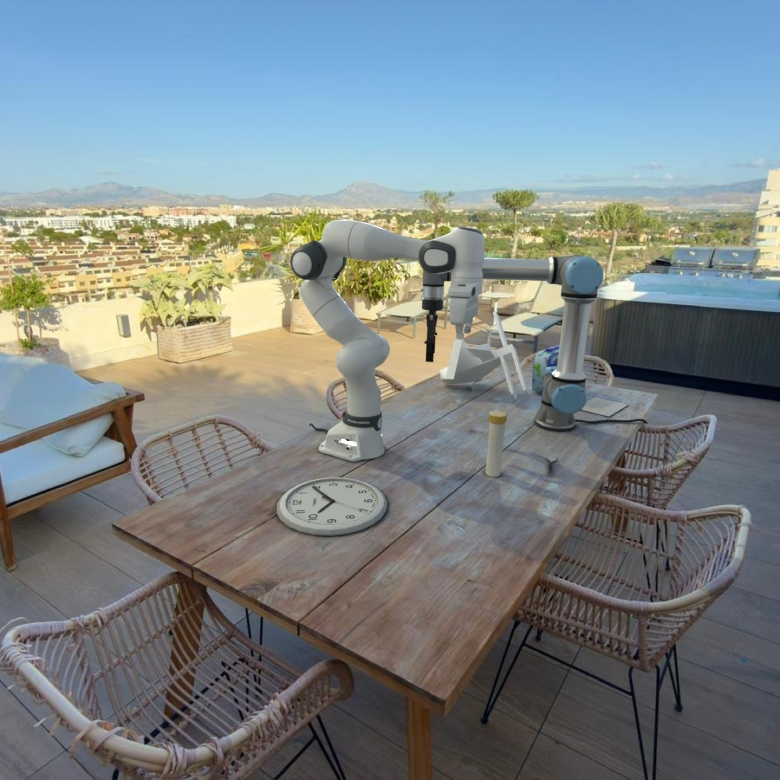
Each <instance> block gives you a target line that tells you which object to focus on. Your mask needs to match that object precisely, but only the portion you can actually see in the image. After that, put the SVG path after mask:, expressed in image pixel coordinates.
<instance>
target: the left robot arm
mask: <svg viewBox="0 0 780 780" xmlns="http://www.w3.org/2000/svg"><path fill="white" fill-rule="evenodd" d="M484 258H485V237H484V234H483V232H482V231H481V230H479V229H476V228H474V227H467V226H457V227H455V228H454V229H453V230H452V231H450V232H449V233H446V234H444V235H442V236H439V237H436V238H434V239H433V238H432V239H430V240H429V239H423V238H416V237H411V236H407V235H406V236H405V235H402V234H399V233H396V232H393V231H390V230H388V229H386V228H382V227H380V226H378V225H376V224H375V225H374V224H371V223H368V222H364V221H358V220H352V219H351V220H350V219H336V220H335V219H334V220H331V221H329V222H327V224H325V226H324V228H323V231H322V236H321V239H320V240H315V239H314V240H311V241H309V242H307V243H304V244H301V245H300V246H299V247H297V248H296V249H294V250H293V252H292V253H291V255H290V259H289V263H290V268H291V271H292V272H293V274H294V275H295V276H296V277H297V278H299V279H301V280H304V281H303V282H302V283H301V285H300V286H299V296H300V299H301V300H302V303H304V306H305V307H306V309H307V310H308V312H309V313H310V315H311V316H312V318H313V319H314V320H315V322H316V323H317V324H318V325H319V326H320V328H321V329H322V331H323V332H324V333H325V334H326V336H327V337H329V338H330V339H331V340H335V341H336V342H338V343H339V344H340V345H342V347H341V348H340V349H339V351H337V354H336V356H335V366H336V369H337V371H338V372H339V373H340V375H342V377H343V379H344V383H345V388H346V404H347V405H346V409H345V410H344V411H342V413H341V414H340V415H339V416H340V417H339V418H340V419H342V420H341V421H339V422H338V423H336V424H335V425H334V426H332V427H331V428H330V429H329V430H328V429H326V428H318V427H316V426H315V424H313V423H309V425H308V426H309V427H312V428H313V429H314V430H316V431H319V432H320V431H322V432H326V436H325V440H323V441H322V442H321V443H320V444H319V446H318V452H319V453H322V454H325V455H329V456H331V457H335V458H340V459H342V460H346V461H349V462H352V463H353V462H358V461H363V460H371V459H375V458H379V457H381V456H382V455H384V453H385V452H386V449H385V445H384V442H383V441H384V440H383V434H382V427H383V413H382V408H381V405H382V403H381V402H382V401H381V400H382V390H381V388H380V386H379V385H378V383H377V379H376V368H378V367H379V366H382V365H383V364H384V363H385V361H386V360H387V359H388V357H389V355H390V351H391V346H390V343H389V341H388V340H387V338H386V337H384V336H383V335H380V334H379V333H377V332H376V331H374V330H372V329H371V328H370V327H369V326H368V325H367V324H366V323H364V321H362V320H361V319H360V318H359V317H358V316H357V315H356V314H355V313H354V311H353V310H352V309H351V307H349V305H348V304H347V303H346V301H345V300H344V298H343V297H342V296H341V295H340V294H339V292H338V291H337V289H336V288H335V287H334V284H333V282H335V281H337V280H338V278H339V276H340V275H341V273H342V271H343V270H344V269H345V267H346V264H347V262H348V259H350V260H351V259H352V260H356V261H364V262H374V261H375V262H377V261H384V260H391V259H409V260H414V261H418V263H419V265H420V267H421V269H422V271H423V270H424V271H426V272H428V273H431V274H442V273H447V272H449V273H451V281H450V284H449V287H448V289H447V296H448V297H449V301H448V302H449V304H448V305H449V322H450V325H452V326H454V327H455V335H456V336H455V339H459V340H462V339H463V340H464V336H465V334H467V335H469V334H471V332H472V326H473V321H474V318H476V316H478V312H479V296H480V295H483V284H484V283H483V282H484V279H483V273H482V266H483V263H484Z"/></svg>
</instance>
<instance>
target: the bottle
mask: <svg viewBox="0 0 780 780" xmlns="http://www.w3.org/2000/svg"><path fill="white" fill-rule="evenodd" d="M505 427H506V423H504V424H494V423H491V422H489V423H488V434H487V435H488V436H487V448H486V459H485V475H486V476H488V477H492V478H498V477H500V476H501V474H502V464H503V463H502V461H503V451H504V440H505V429H506V428H505Z"/></svg>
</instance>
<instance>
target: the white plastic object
mask: <svg viewBox="0 0 780 780" xmlns="http://www.w3.org/2000/svg"><path fill="white" fill-rule="evenodd" d="M492 315H493V319H494V321H495V324H496V325H495V326H496V328H497V332H498V335H499V338H500V342H501V345H502V347H500V348H498V349H496V350H495V349H493V348H492V347H491V346H490V344H489V343H488V342H487V343H483V344H479V345H473V346H469V345H468V343H466V342H465V340H464V338H463V339H462V340H459V339H456V338H454V340H453V344H452V349H451V353H450V357H449V362H448V366H446V367H444V368H442V369H440V370H439V371H438V372H439V376H440V381H442V383H443V384H444V385H445V386H449V385H458V384H467V383H468V384H469V383H473V384H477V383H480V382H482V381H484V378H485V377H486V376H487V375H489V374H490V373H492V372H494V371H495V370H496V369H497V368H499V367H500V366H502V370H503V373H504V376H505V380H506V383H507V386H508V390H509V393H510V394H511V395H512V397H513V398H514V399H515V400H517V392H516V391H517V390H516V388H515V385H514V381H513V378H512V375H511V371H510V369H509V365H508V361H510V360H513V363H514V366H515V369H516V372H517V376H518V380H519V382H520V385H521V389H522V391H523V393H524V395H525V396H526V397H528V396H531V395H530V390H529V388H528V387H529V386H528V384H527V381H526V378H525V375H524V371H523V369H522V368H523V367H522V366H521V362H520V359H519V355H518V352H517V349H516V347H515V346H514V345H513V343H511V344H508V341H507V337H506V334H505V331H504V328H503V325H502V321H501V318H500V315H499V314H498V312H497V311H496V310H495V311H492Z"/></svg>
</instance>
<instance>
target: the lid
mask: <svg viewBox="0 0 780 780" xmlns="http://www.w3.org/2000/svg"><path fill="white" fill-rule="evenodd" d="M488 421H489V422H491V423H494V424H504V423H505V424H506V423H507V413H506V412H504V411H500V410H491V411H489V413H488Z"/></svg>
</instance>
